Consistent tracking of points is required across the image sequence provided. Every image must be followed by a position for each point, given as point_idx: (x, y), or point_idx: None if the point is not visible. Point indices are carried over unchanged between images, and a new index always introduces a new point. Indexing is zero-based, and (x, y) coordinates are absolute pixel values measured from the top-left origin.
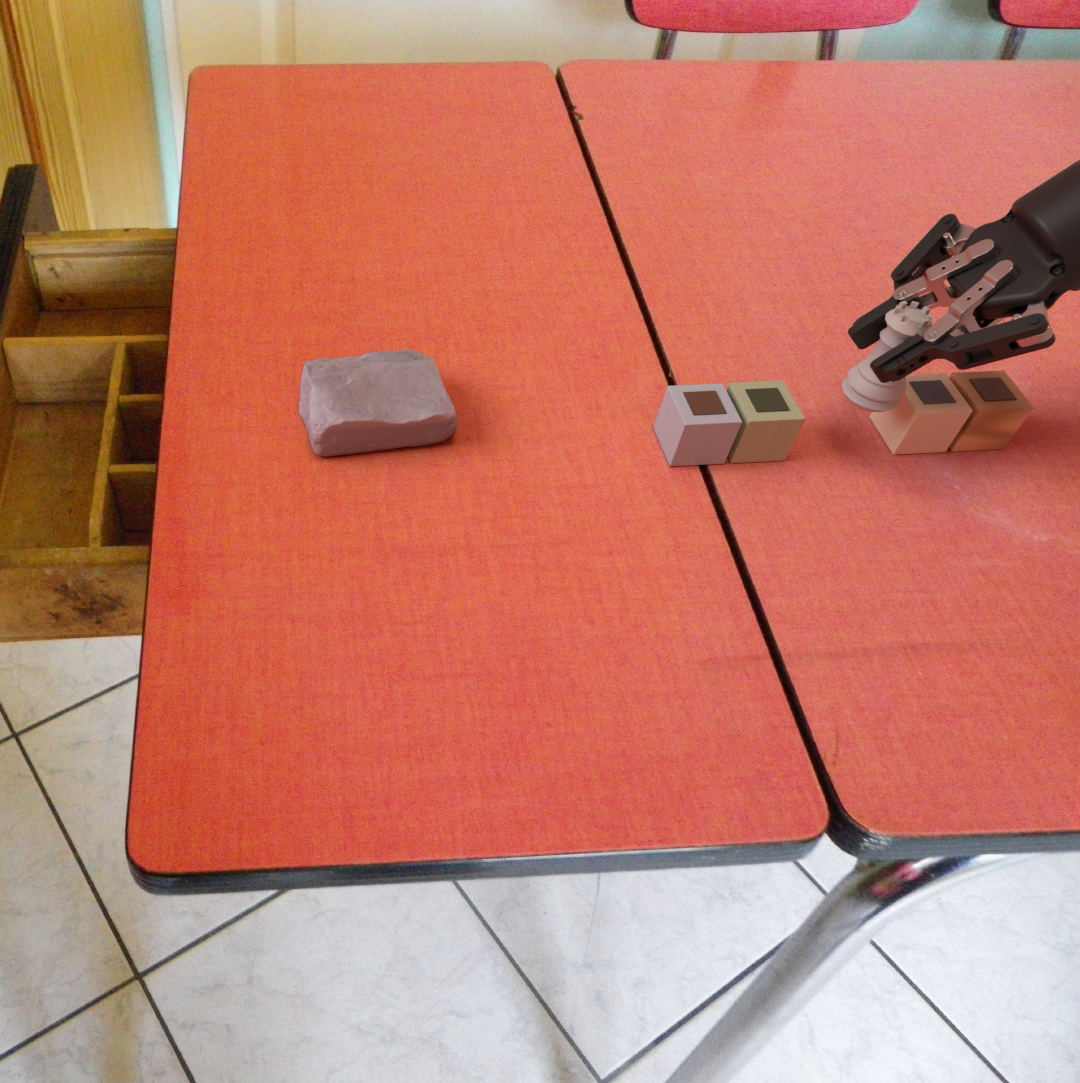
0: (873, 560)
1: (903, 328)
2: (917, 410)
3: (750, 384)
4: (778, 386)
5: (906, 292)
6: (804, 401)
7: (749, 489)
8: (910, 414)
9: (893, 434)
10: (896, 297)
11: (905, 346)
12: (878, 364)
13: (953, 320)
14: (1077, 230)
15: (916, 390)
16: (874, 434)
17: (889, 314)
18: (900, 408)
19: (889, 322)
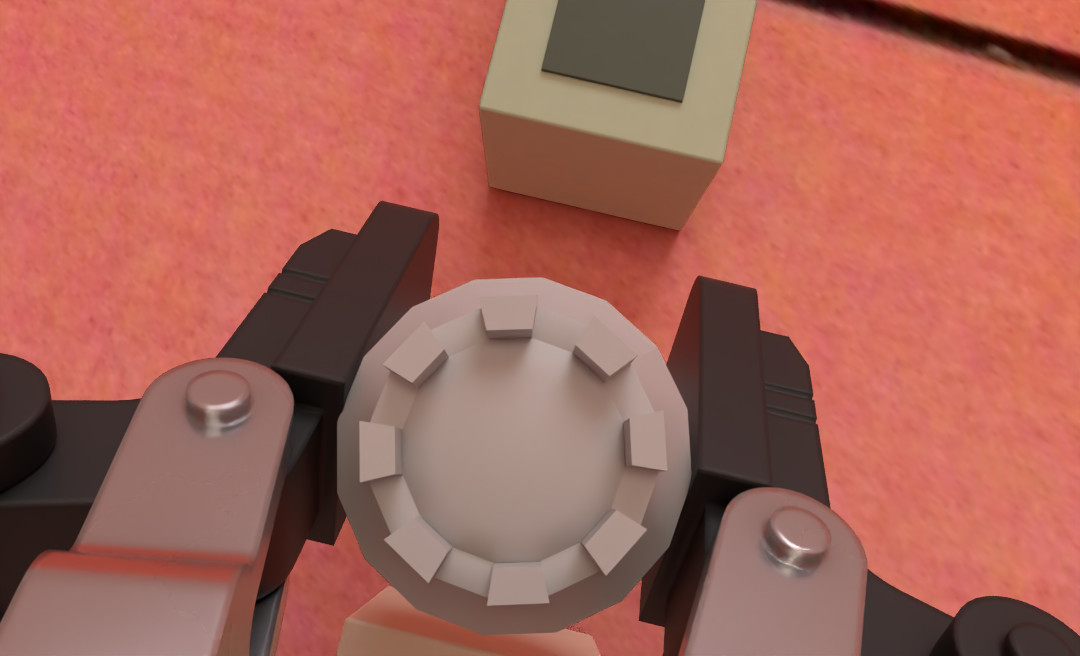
0: (11, 193)
1: (433, 317)
2: (361, 625)
3: (736, 14)
4: (691, 116)
5: (769, 561)
6: None
7: (412, 4)
8: (387, 617)
9: None
10: (777, 501)
11: (336, 306)
12: (383, 210)
13: (129, 534)
14: None
15: None
16: None
17: (621, 334)
18: (461, 631)
19: (548, 289)
